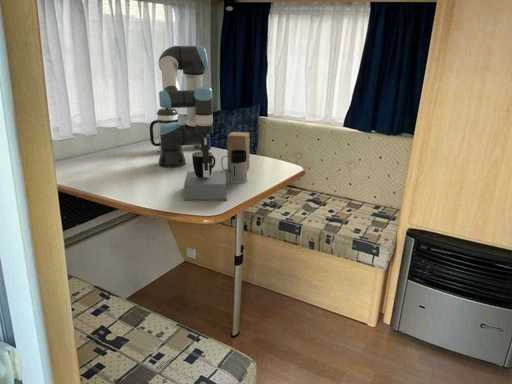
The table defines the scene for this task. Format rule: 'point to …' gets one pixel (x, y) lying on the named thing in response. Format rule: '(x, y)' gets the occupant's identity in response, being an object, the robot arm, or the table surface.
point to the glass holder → (238, 166)
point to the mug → (198, 165)
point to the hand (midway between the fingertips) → (205, 173)
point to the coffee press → (163, 122)
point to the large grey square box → (205, 187)
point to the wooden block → (238, 145)
